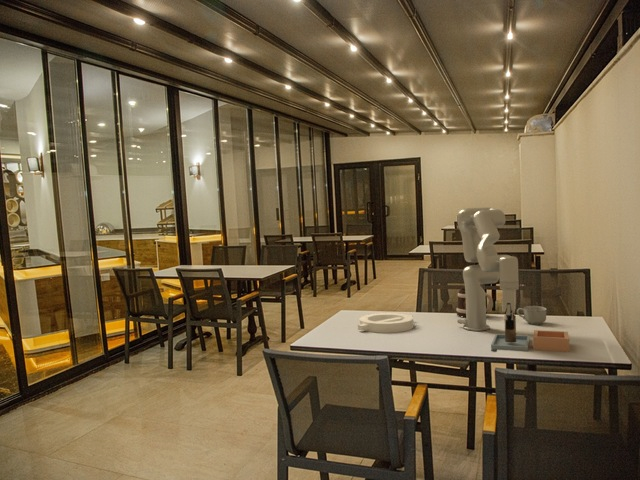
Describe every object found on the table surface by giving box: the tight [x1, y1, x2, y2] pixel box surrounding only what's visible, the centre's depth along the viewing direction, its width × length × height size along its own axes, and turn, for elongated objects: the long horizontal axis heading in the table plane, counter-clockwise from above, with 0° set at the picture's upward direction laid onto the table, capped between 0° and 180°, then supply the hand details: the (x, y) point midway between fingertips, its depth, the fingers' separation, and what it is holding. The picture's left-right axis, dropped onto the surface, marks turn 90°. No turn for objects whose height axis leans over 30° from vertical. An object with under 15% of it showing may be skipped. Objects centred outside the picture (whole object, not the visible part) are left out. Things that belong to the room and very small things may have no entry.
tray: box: [490, 333, 530, 352], centre depth 208 cm, size 14×20×2 cm
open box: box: [532, 329, 570, 352], centre depth 201 cm, size 13×13×6 cm
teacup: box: [516, 305, 547, 325], centre depth 250 cm, size 14×11×8 cm
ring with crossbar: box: [357, 312, 414, 334], centre depth 257 cm, size 28×28×5 cm
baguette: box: [504, 314, 517, 343], centre depth 208 cm, size 4×4×11 cm
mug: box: [456, 287, 494, 318], centre depth 275 cm, size 20×15×15 cm
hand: (510, 327), depth 208 cm, fingers closed on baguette, 4 cm apart
